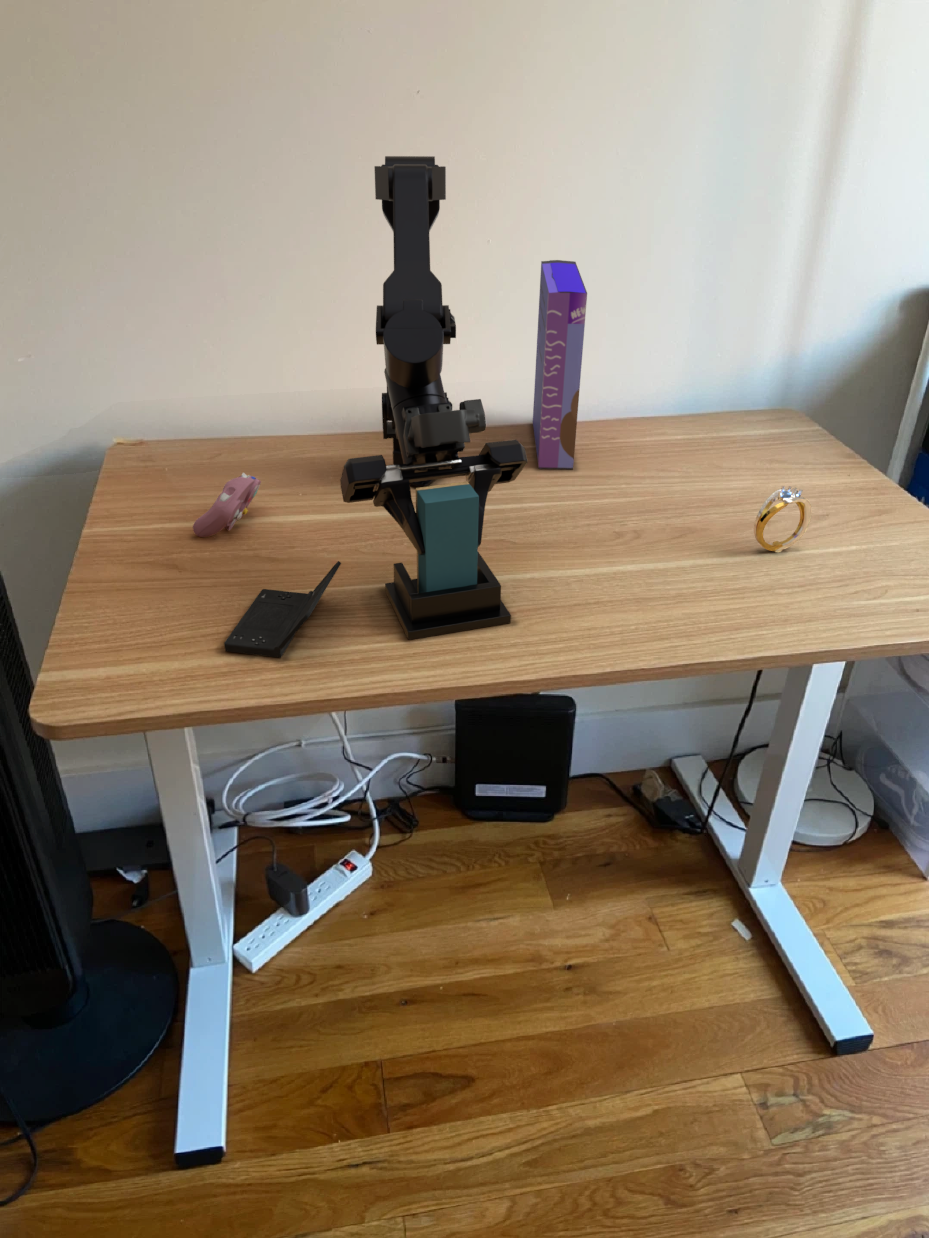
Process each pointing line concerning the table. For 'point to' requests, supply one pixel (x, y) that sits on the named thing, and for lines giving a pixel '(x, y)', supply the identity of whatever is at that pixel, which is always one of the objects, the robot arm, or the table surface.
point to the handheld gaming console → (275, 620)
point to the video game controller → (228, 506)
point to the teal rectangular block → (447, 536)
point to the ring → (766, 515)
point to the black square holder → (447, 604)
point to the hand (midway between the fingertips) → (450, 550)
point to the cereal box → (558, 363)
